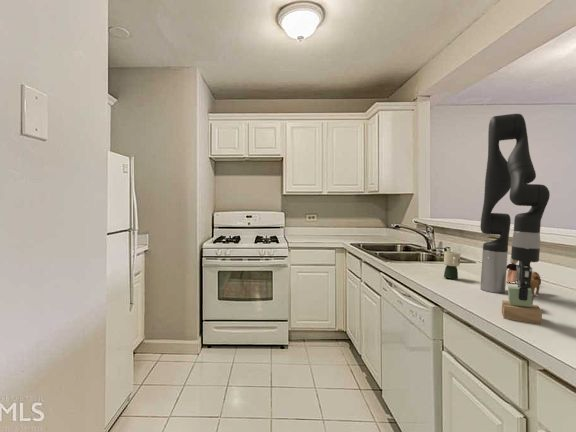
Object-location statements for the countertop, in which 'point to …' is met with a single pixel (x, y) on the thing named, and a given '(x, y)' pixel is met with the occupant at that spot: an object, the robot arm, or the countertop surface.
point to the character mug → (451, 264)
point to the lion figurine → (535, 283)
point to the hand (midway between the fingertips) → (522, 298)
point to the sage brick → (514, 297)
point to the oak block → (522, 313)
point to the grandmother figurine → (512, 271)
